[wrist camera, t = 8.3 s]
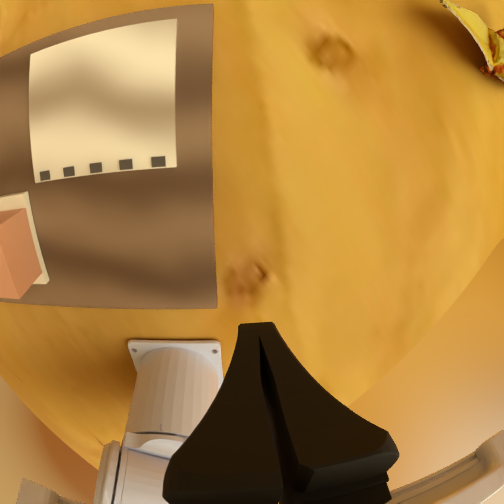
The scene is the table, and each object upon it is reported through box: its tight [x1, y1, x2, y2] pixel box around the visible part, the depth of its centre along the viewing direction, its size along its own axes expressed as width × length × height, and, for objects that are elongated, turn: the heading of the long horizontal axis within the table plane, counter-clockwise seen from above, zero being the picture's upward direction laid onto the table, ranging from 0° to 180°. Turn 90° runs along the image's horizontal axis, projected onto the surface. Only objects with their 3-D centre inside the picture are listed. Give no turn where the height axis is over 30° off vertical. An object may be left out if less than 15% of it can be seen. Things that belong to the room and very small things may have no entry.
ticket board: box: [0, 4, 217, 309], centre depth 16 cm, size 20×24×2 cm
